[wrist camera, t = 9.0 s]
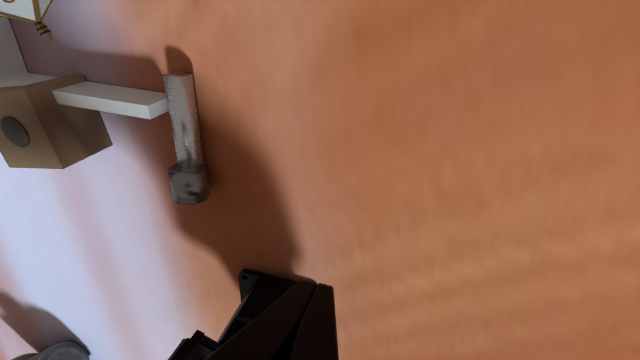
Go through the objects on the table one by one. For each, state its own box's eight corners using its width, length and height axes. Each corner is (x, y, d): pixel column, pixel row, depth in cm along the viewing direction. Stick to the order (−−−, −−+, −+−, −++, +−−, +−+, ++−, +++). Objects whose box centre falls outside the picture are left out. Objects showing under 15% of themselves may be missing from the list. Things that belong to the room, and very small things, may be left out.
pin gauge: (216, 189, 25) (196, 207, 23) (186, 183, 25) (165, 200, 23) (203, 74, 21) (178, 83, 19) (168, 69, 21) (140, 78, 19)
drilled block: (112, 145, 25) (61, 169, 22) (62, 144, 27) (7, 168, 23) (83, 75, 23) (22, 90, 20) (31, 79, 25) (-35, 94, 21)
